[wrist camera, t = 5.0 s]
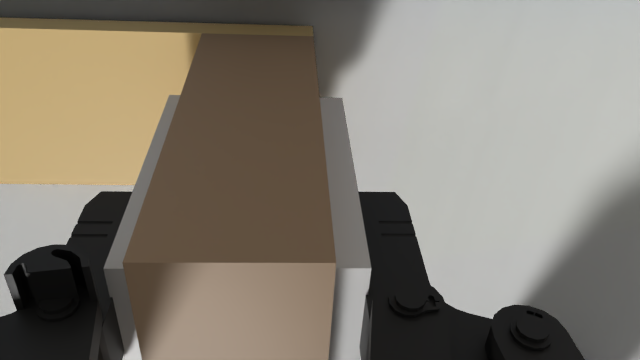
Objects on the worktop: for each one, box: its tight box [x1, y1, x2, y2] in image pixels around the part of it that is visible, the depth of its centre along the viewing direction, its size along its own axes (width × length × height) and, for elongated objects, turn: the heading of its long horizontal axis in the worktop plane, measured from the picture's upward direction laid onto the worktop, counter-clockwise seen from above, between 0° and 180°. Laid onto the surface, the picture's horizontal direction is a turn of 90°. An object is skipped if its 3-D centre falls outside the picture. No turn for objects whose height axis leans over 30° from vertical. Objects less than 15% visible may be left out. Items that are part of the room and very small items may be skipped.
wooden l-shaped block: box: [0, 17, 336, 360], centre depth 13 cm, size 10×5×10 cm, turn 87°
